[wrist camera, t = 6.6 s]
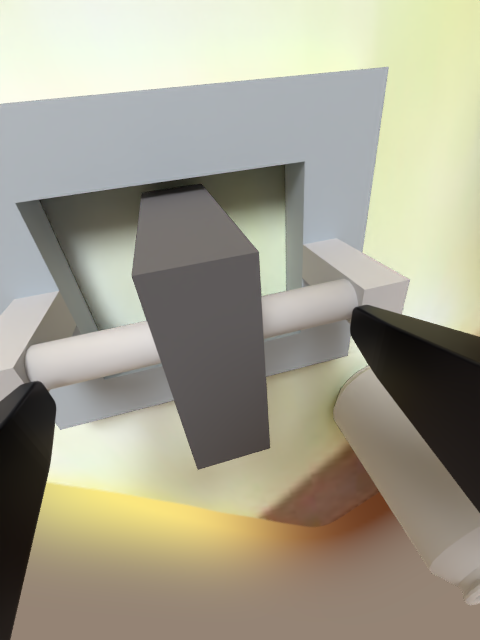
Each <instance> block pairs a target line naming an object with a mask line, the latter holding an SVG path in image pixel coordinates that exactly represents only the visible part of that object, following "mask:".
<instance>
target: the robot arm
mask: <svg viewBox="0 0 480 640" xmlns="http://www.w3.org/2000/svg"><path fill="white" fill-rule="evenodd" d="M350 334H351V336H352V338H353V340H354V342H355V343H356V345H357V347H358V348H359V350H360V352H361V353H362V355H363V357H364V358H365V360H366V361H367V363H368V365H369V366H370V368H371V370H372V371H373V373H374V374H375V376H376V377H377V379H378V380H379V381H380V383H381V384H382V385H383V387H384V388H385V389H386V391H387V392H388V393H389V395H390V396H391V397H392V399H393V400H394V401H395V402H396V404H397V405H398V406H399V408H400V409H401V410H402V412H403V413H404V414H405V416H406V417H407V418H408V420H409V421H410V422H411V424H412V425H413V426H414V428H415V429H416V430H417V431H418V433H419V434H420V435H421V437H422V438H423V439H424V441H425V442H426V443H427V445H428V446H429V447H430V449H431V450H432V451H433V453H434V454H435V455H436V456H437V458H438V459H439V460H440V462H441V463H442V464H443V466H444V467H445V468H446V470H447V471H448V472H449V474H450V475H451V476H452V478H453V479H454V480H455V482H456V483H457V484H458V485H459V487H460V488H461V489H462V491H463V492H464V493H465V495H466V496H467V497H468V499H469V500H470V501H471V503H472V504H473V505H474V507H475V508H476V509H477V510H478V512H479V513H480V337H478V336H475V335H471V334H468V333H464V332H461V331H457V330H454V329H451V328H447V327H444V326H440V325H437V324H433V323H430V322H426V321H423V320H419V319H416V318H412V317H409V316H405V315H402V314H399V313H395V312H392V311H388V310H385V309H381V308H378V307H374V306H371V305H362V306H357V307H355V308H354V309H353V311H352V317H351V324H350ZM55 419H56V403H55V401H54V399H53V398H52V396H51V395H50V393H49V392H48V390H47V389H46V387H45V386H44V384H43V383H42V382H40V381H33V382H28V383H24V384H21V385H20V386H18V387H17V388H16V389H15V390H13V391H12V392H11V393H10V394H9V395H7V396H6V397H5V398H4V399H2V400H1V401H0V640H10V638H11V634H12V630H13V625H14V621H15V616H16V612H17V608H18V603H19V599H20V595H21V590H22V585H23V582H24V577H25V573H26V569H27V564H28V560H29V556H30V551H31V547H32V543H33V538H34V533H35V529H36V525H37V521H38V516H39V512H40V508H41V503H42V499H43V494H44V490H45V486H46V481H47V477H48V473H49V468H50V462H51V455H52V447H53V437H54V428H55Z"/></svg>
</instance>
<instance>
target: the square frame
mask: <svg viewBox="0 0 480 640" xmlns="http://www.w3.org/2000/svg"><path fill="white" fill-rule="evenodd" d="M388 68H389V67H382V68H371V69H361V70H350V71H340V72H329V73H319V74H309V75H298V76H288V77H277V78H267V79H256V80H246V81H235V82H225V83H214V84H204V85H193V86H183V87H172V88H162V89H151V90H141V91H130V92H120V93H109V94H99V95H88V96H78V97H67V98H57V99H46V100H36V101H25V102H15V103H4V104H0V401H1V400H2V399H4V398H5V397H6V396H7V395H9V394H10V393H11V392H12V391H13V390H15V389H16V388H17V387H18V386H20V385H21V384H24V383H28V382H33V381H40V382H42V383H43V384H44V386H45V387H46V389H47V390H48V392H49V393H50V395H51V396H52V398H53V399H54V401H55V403H56V419H55V423H56V424H57V426H58V427H59V428H60V430H61V429H65V428H69V427H73V426H77V425H81V424H85V423H89V422H92V421H96V420H100V419H104V418H108V417H112V416H116V415H120V414H123V413H127V412H131V411H135V410H139V409H143V408H147V407H151V406H154V405H158V404H162V403H166V402H170V401H174V399H173V396H172V393H171V390H170V387H169V384H168V381H167V378H166V375H165V372H164V369H163V366H162V363H161V361H160V358H159V355H158V352H157V349H156V346H155V343H154V340H153V337H152V334H151V331H150V328H149V325H148V322H147V321H143V322H138V323H133V324H129V325H124V326H119V327H115V328H110V329H105V330H101V331H99V330H98V328H97V326H96V324H95V322H94V319H93V317H92V315H91V313H90V311H89V308H88V306H87V304H86V302H85V300H84V297H83V295H82V293H81V291H80V289H79V287H78V284H77V282H76V280H75V278H74V276H73V273H72V271H71V269H70V267H69V265H68V262H67V260H66V258H65V256H64V254H63V252H62V249H61V247H60V245H59V243H58V241H57V238H56V236H55V234H54V232H53V230H52V227H51V225H50V223H49V221H48V219H47V216H46V214H45V212H44V210H43V208H42V206H41V203H40V201H39V199H46V198H53V197H60V196H67V195H74V194H81V193H88V192H95V191H102V190H109V189H116V188H123V187H130V186H137V185H144V184H151V183H158V182H165V181H172V180H179V179H185V178H192V177H199V176H206V175H213V174H220V173H227V172H234V171H241V170H248V169H255V168H262V167H269V166H276V165H283V164H285V207H286V291H283V292H279V293H274V294H269V295H265V296H261V300H262V317H263V335H264V352H265V370H266V377H267V376H271V375H275V374H279V373H282V372H286V371H290V370H294V369H298V368H302V367H306V366H310V365H313V364H317V363H321V362H325V361H329V360H333V359H337V358H341V357H344V356H348V350H349V343H350V336H351V334H350V324H351V317H352V311H353V309H354V308H355V307H357V306H362V305H371V306H374V307H378V308H381V309H385V310H388V311H392V312H395V313H399V314H402V310H403V306H404V302H405V298H406V294H407V290H408V286H409V282H410V279H408V278H407V277H405V276H403V275H401V274H399V273H398V272H396V271H394V270H392V269H391V268H389V267H387V266H385V265H383V264H382V263H380V262H378V261H376V260H375V259H373V258H371V257H369V256H367V255H366V254H364V253H362V251H363V244H364V237H365V230H366V223H367V216H368V209H369V202H370V195H371V188H372V181H373V174H374V167H375V160H376V153H377V145H378V138H379V131H380V124H381V117H382V110H383V103H384V96H385V89H386V82H387V75H388Z"/></svg>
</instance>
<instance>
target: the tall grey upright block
mask: <svg viewBox="0 0 480 640" xmlns="http://www.w3.org/2000/svg"><path fill="white" fill-rule="evenodd" d="M132 279H133V282H134V284H135V287H136V290H137V293H138V296H139V299H140V302H141V305H142V308H143V311H144V314H145V317H146V320H147V322H148V325H149V328H150V331H151V334H152V337H153V340H154V343H155V346H156V349H157V352H158V355H159V358H160V361H161V363H162V366H163V369H164V372H165V375H166V378H167V381H168V384H169V387H170V390H171V393H172V396H173V399H174V402H175V404H176V407H177V410H178V413H179V416H180V419H181V422H182V425H183V428H184V431H185V434H186V437H187V440H188V443H189V445H190V448H191V451H192V454H193V457H194V460H195V463H196V466H197V469H198V470H199V469H202V468H205V467H209V466H212V465H215V464H219V463H222V462H225V461H229V460H232V459H235V458H239V457H242V456H245V455H249V454H252V453H255V452H259V451H262V450H266V449H269V448H270V439H269V422H268V404H267V387H266V370H265V352H264V335H263V317H262V300H261V282H260V265H259V252H258V250H257V249H256V248H255V247H254V246H253V244H252V243H251V242H250V241H249V240H248V239H247V237H246V236H245V235H244V234H243V233H242V231H241V230H240V229H239V228H238V227H237V225H236V224H235V223H234V222H233V221H232V220H231V218H230V217H229V216H228V215H227V214H226V212H225V211H224V210H223V209H222V208H221V206H220V205H219V204H218V203H217V202H216V201H215V199H214V198H213V197H212V196H211V195H210V193H209V192H208V191H207V190H206V189H205V187H204V186H203V185H202V184H197V185H190V186H184V187H177V188H170V189H163V190H157V191H150V192H143V193H142V195H141V203H140V211H139V219H138V228H137V236H136V244H135V252H134V261H133V269H132Z"/></svg>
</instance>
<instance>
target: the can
mask: <svg viewBox="0 0 480 640" xmlns="http://www.w3.org/2000/svg"><path fill="white" fill-rule="evenodd" d="M333 417H334V421H335V422H336V424H337V425H338V427H339V429H340V430H341V432H342V433H343V435H344V436H345V438H346V440H347V441H348V443H349V444H350V446H351V447H352V449H353V451H354V452H355V454H356V455H357V457H358V458H359V460H360V462H361V463H362V465H363V466H364V468H365V469H366V471H367V473H368V474H369V476H370V477H371V479H372V480H373V482H374V484H375V485H376V487H377V488H378V490H379V491H380V493H381V494H382V496H383V498H384V499H385V501H386V502H387V504H388V506H389V507H390V509H391V510H392V512H393V513H394V515H395V516H396V518H397V520H398V521H399V523H400V524H401V526H402V528H403V529H404V531H405V532H406V534H407V535H408V537H409V539H410V540H411V542H412V543H413V545H414V546H415V548H416V550H417V551H418V553H419V554H420V556H421V557H422V559H423V561H424V562H425V564H426V565H427V567H428V568H429V570H430V572H431V573H432V574H434V575H436V576H438V577H440V578H442V579H444V580H446V581H448V582H450V583H452V584H453V585H455V586H457V587H459V588H460V589H461V591H462V593H463V599H464V601H465V603H466V604H469V605H475V604H479V603H480V513H479V512H478V510H477V509H476V508H475V507H474V505H473V504H472V503H471V501H470V500H469V499H468V497H467V496H466V495H465V493H464V492H463V491H462V489H461V488H460V487H459V485H458V484H457V483H456V482H455V480H454V479H453V478H452V476H451V475H450V474H449V472H448V471H447V470H446V468H445V467H444V466H443V464H442V463H441V462H440V460H439V459H438V458H437V456H436V455H435V454H434V453H433V451H432V450H431V449H430V447H429V446H428V445H427V443H426V442H425V441H424V439H423V438H422V437H421V435H420V434H419V433H418V431H417V430H416V429H415V428H414V426H413V425H412V424H411V422H410V421H409V420H408V418H407V417H406V416H405V414H404V413H403V412H402V410H401V409H400V408H399V406H398V405H397V404H396V402H395V401H394V400H393V399H392V397H391V396H390V395H389V393H388V392H387V391H386V389H385V388H384V387H383V385H382V384H381V383H380V381H379V380H378V379H377V377H376V376H375V374H374V373H373V371H372V370H371V368H370V366H366V367H365V368H363V369H361V370H360V371H358V372H356V373H355V374H354V375H353V376H352V377H351V378H350V379H348V380H347V381H346V383H345V384H344V385H343V387H342V388H341V389H340V392H339V394H338V397H337V401H336V404H335V407H334V409H333Z"/></svg>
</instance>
